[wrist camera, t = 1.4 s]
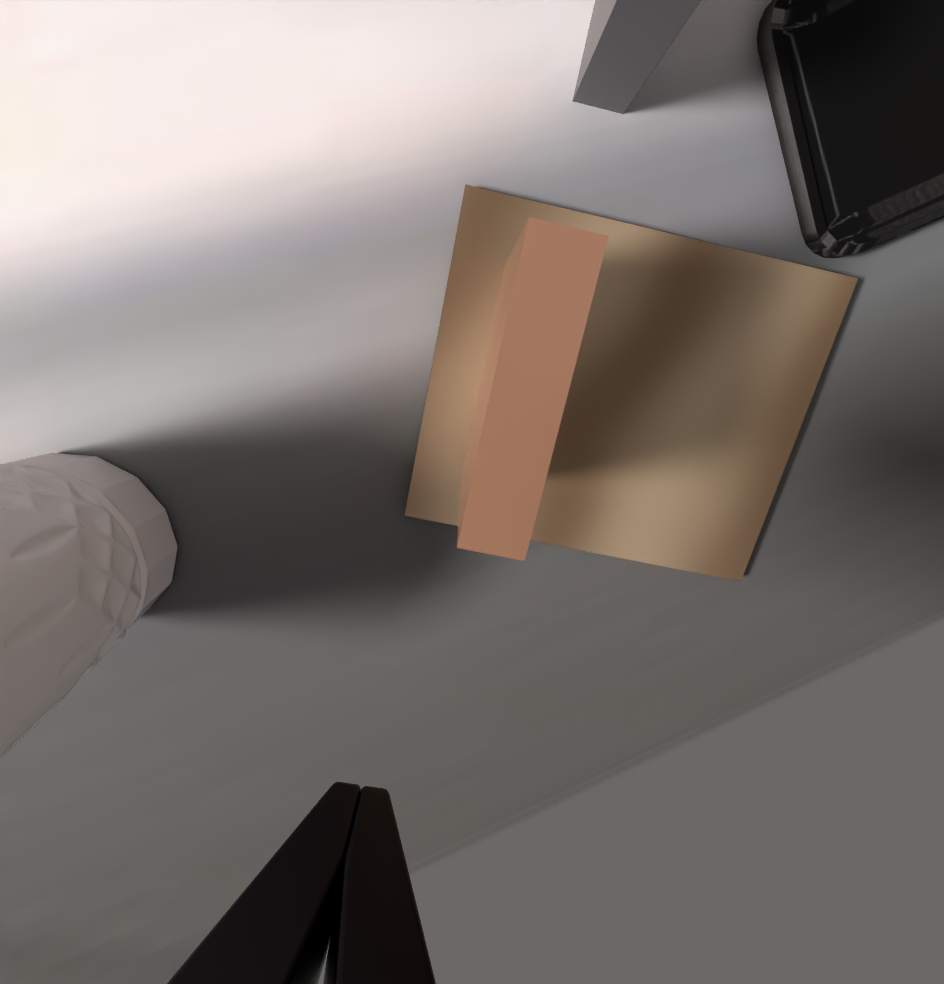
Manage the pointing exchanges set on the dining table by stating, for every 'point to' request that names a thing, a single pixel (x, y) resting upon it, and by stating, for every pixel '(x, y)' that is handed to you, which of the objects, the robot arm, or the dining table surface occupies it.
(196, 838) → the dining table surface
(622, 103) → the gray box
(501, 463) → the terracotta tile
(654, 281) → the cork mat
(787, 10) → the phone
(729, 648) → the dining table surface
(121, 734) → the dining table surface
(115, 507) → the white cup
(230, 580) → the dining table surface
